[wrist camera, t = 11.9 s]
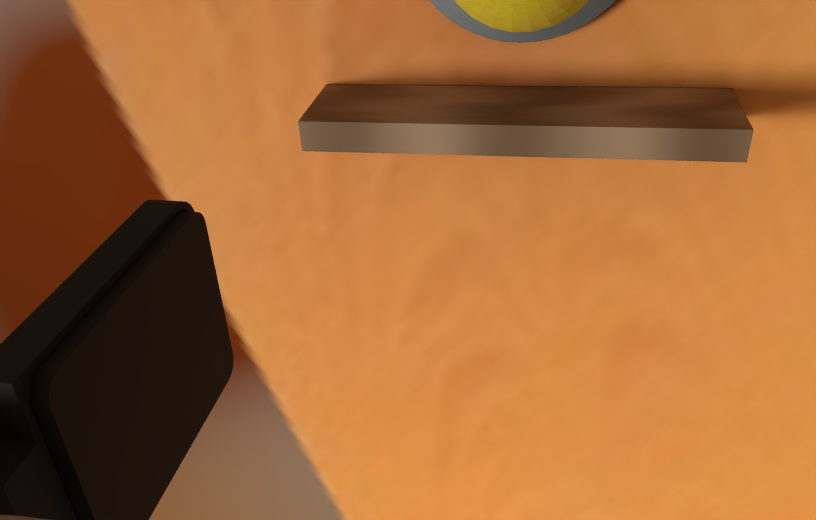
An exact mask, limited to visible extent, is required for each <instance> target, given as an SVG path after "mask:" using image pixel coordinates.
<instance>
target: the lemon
mask: <svg viewBox="0 0 816 520" xmlns="http://www.w3.org/2000/svg"><path fill="white" fill-rule="evenodd" d="M588 1H589V0H455V2H456V3H457V4H458V5H459V6H460V7H461V8H462V9H463V10H464V11H465V12H467V13H468V14H469V15H470V16H471V17H472V18H474V19H475V20H477V21H479V22H481V23H483V24H485V25H487V26H489V27H491V28H495V29H499V30H504V31H508V32H534V31H537V30H541V29H544V28H548V27H551V26H554V25H556V24H558V23H560V22H562V21H563V20H565V19H567V18H569V17H570V16H572V15H574V14H575V13H576V12H578V11H579V10H580V9H581V8H582V7H583V6H584V5H585V4H586V3H587V2H588Z"/></svg>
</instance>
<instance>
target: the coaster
mask: <svg viewBox="0 0 816 520" xmlns="http://www.w3.org/2000/svg"><path fill="white" fill-rule="evenodd" d="M430 1H431V2H432V4H433V5H434V6H435V7H436V8H437V9H438V10H439V11H440V12H442V13H443V14H444V15H445V16H446V17H447V18H449V19H450V20H452V21H453V22H455V23H456V24H458V25H459V26H461V27H462V28H464V29H467V30H469V31H471V32H473V33H475V34H477V35H480V36H483V37H486V38H489V39H494V40H499V41H504V42H519V43H522V42H536V41H542V40H547V39H552V38H555V37H558V36H561V35H564V34H567V33H569V32H571V31H573V30H575V29H578V28H580V27H582V26H583V25H585V24H587V23H588V22H590V21H591V20H593V19H594V18H596V17H597V16H599V15H600V14H601V13H602V12H603V11H605V10H606V9H607V8H608V7H610V6H611V5H612V4H613V3H614V1H615V0H589V1H588V2H587V3H586V4H585V5H584V6H583V7H582V8H581V9H580V10H579V11H578V12H576V13H575V14H574V15H572V16H570V17H569V18H567V19H565V20H563V21H562V22H560V23H558V24H556V25H554V26H551V27H548V28H544V29H541V30H537V31H534V32H508V31H504V30H499V29H495V28H491V27H489V26H487V25H485V24H483V23H481V22H479V21H477V20H475V19H474V18H472V17H471V16H470V15H469V14H468V13H467V12H465V11H464V10H463V9H462V8H461V7H460V6H459V5H458V4H457V3H456V2H455V0H430Z"/></svg>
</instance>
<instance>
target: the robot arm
mask: <svg viewBox="0 0 816 520" xmlns="http://www.w3.org/2000/svg"><path fill="white" fill-rule="evenodd" d="M232 368H233V352H232V347H231V342H230V338H229V333H228V328H227V323H226V318H225V313H224V309H223V304H222V299H221V294H220V289H219V285H218V280H217V275H216V270H215V265H214V261H213V256H212V251H211V246H210V241H209V236H208V232H207V227H206V222H205V219H204V217H203V215H202V214H201V213H199V212H194V209H193V208H192V206H191V205H190V204H189V203H188V202H182V201H166V200H147V201H146V202H144V203H143V204H142V205H141V206H140V207H139V208H138V209H137V210H136V211H135V212H134V213H133V214H132V215H131V216H130V217H129V218H128V219H127V220H126V221H125V222H124V223H123V224H122V225H121V226H120V227H119V228H118V229H117V230H116V231H115V232H114V233H113V234H112V235H111V236H110V237H109V238H108V239H107V240H106V241H104V242H103V243H102V244H101V245H100V246H99V248H97V249H96V250H95V251H94V253H92V254H91V255H90V256H89V257H88V259H86V260H85V261H84V262H83V263H82V264H81V265H80V267H78V268H77V269H76V270H75V271H74V272H73V273H72V274H71V275H70V276H69V277H68V278H67V279H66V280H65V281H64V282H63V283H62V284H61V285H60V286H59V287H58V288H57V289H56V290H55V291H54V292H53V293H52V294H51V295H50V296H49V297H48V298H47V299H46V300H45V301H44V302H43V303H42V304H41V305H40V306H39V307H38V308H37V309H36V310H35V311H34V312H33V313H32V314H31V315H30V316H29V317H27V319H26V320H25V321H23V322H22V324H20V325H19V326H18V328H17V329H15V330H14V331H13V332H12V333H11V334H10V335H9V336H8V337H7V338H6V339H5V340H4V341H3V342H2V343H1V344H0V520H149V518H150V516H151V515H152V513H153V511H154V509H155V507H156V506H157V504H158V502H159V501H160V499H161V497H162V495H163V494H164V492H165V490H166V488H167V487H168V485H169V483H170V481H171V480H172V478H173V476H174V475H175V473H176V471H177V469H178V468H179V466H180V464H181V462H182V460H183V459H184V457H185V455H186V454H187V452H188V450H189V448H190V447H191V445H192V443H193V441H194V440H195V438H196V436H197V434H198V433H199V431H200V429H201V427H202V426H203V424H204V422H205V421H206V419H207V417H208V415H209V414H210V412H211V410H212V408H213V407H214V405H215V403H216V401H217V400H218V398H219V396H220V394H221V393H222V391H223V389H224V387H225V386H226V384H227V382H228V381H229V378H230V376H231V373H232Z"/></svg>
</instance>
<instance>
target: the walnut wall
mask: <svg viewBox="0 0 816 520" xmlns="http://www.w3.org/2000/svg"><path fill="white" fill-rule="evenodd" d="M298 123H299V130H300V138H301V145H302V151H324V152H363V153H402V154H442V155H481V156H520V157H559V158H599V159H638V160H677V161H716V162H747V158H748V154H749V149H750V144H751V139H752V135H753V128H752V126H751V124H750V122H749V120H748V118H747V117H746V115H745V113H744V111H743V109H742V107H741V105H740V103H739V101H738V100H737V98H736V96H735V94H734V92H733V90H732V88H644V87H538V86H432V85H327V84H326V86H325V87H324V88H323V89H322V91H321V92H320V93H319V95H318V96H317V97H316V99H315V100H314V101H313V103H312V104H311V105H310V107H309V108H308V109H307V111H306V112H305V113H304V114H303V116H302V117H301V118H300V120H299V121H298Z"/></svg>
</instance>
